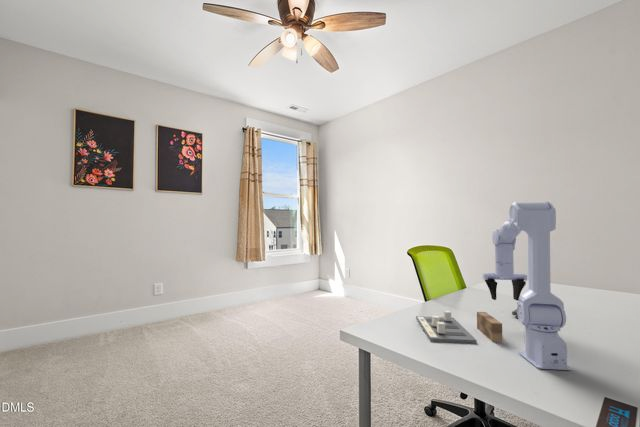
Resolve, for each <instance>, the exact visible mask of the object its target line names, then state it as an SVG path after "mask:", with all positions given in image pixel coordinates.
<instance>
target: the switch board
mask: <svg viewBox="0 0 640 427" xmlns="http://www.w3.org/2000/svg"><path fill="white" fill-rule="evenodd" d="M438 317H439V322H444V324H445V334H444V333H438V332H437V326H433V325H432V316H421V315H420V316H419V315H418V316H415V319H417V320H418V321H417V320H416V321H417V323H418V322H419V323H418V324H419V326H420V325H421V326H420V327H421V329H422V330H424V331H423V332H424V334H425V335H426V337H427V339H428V340H429V342H433V343H434V342H436V343H439V342H440V343H456V344H457V343H461V344H478V342H477V340H478V339H476V338H475V336H473V335H472V334H471V333H470V332H469V331H468V330H467V329H466V328H465V327H464V326H463V325H461V323H460V322H459V321H457V320H456V318H454V317H452V316H451V321H445V320H444V316H438Z"/></svg>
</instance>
